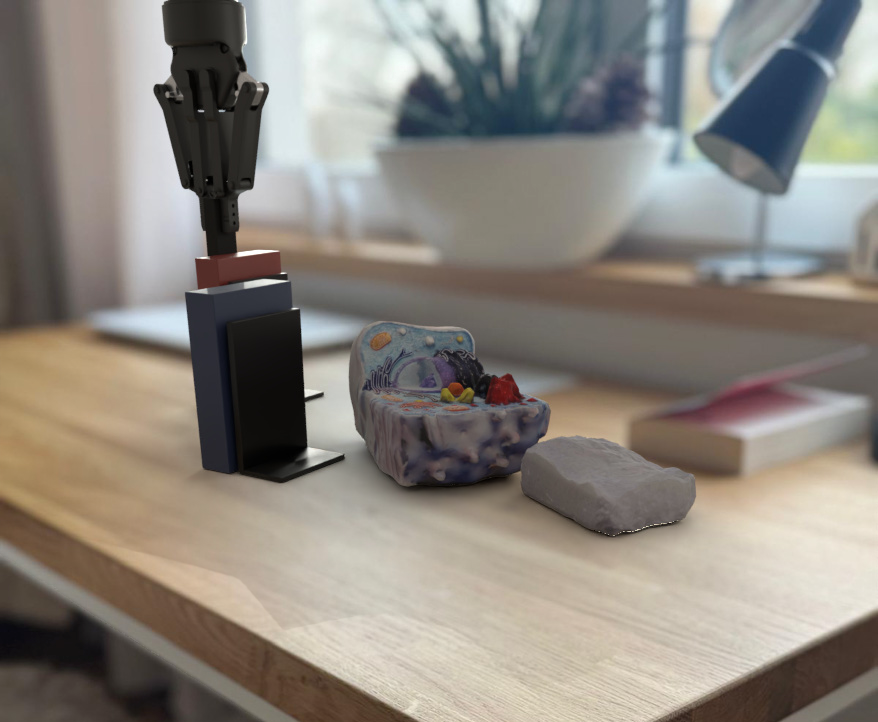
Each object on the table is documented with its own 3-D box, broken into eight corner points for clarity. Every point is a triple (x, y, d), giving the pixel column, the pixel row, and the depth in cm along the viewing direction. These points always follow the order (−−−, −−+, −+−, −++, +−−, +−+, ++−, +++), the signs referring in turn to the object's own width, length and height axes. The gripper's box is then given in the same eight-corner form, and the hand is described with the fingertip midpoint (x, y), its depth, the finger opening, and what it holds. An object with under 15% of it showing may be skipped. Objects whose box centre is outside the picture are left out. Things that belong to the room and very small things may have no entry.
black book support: (238, 473, 87) (225, 321, 82) (302, 450, 93) (294, 307, 88) (281, 483, 84) (271, 327, 79) (345, 458, 90) (339, 312, 86)
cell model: (449, 305, 96) (572, 348, 79) (448, 423, 100) (564, 488, 84) (311, 315, 90) (412, 364, 74) (315, 440, 95) (412, 512, 78)
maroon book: (194, 258, 104) (217, 259, 102) (258, 249, 111) (280, 250, 109) (208, 402, 109) (230, 405, 108) (268, 385, 116) (289, 388, 114)
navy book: (184, 291, 82) (212, 294, 81) (263, 278, 89) (291, 280, 88) (202, 468, 88) (229, 473, 86) (275, 443, 95) (302, 447, 93)
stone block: (610, 495, 86) (505, 489, 81) (625, 437, 85) (518, 427, 80) (707, 548, 77) (594, 545, 72) (725, 483, 75) (612, 475, 70)
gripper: (284, -2, 98) (297, 267, 108) (182, 6, 105) (203, 258, 114) (226, -9, 93) (246, 275, 102) (122, -1, 99) (149, 266, 108)
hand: (223, 266), depth 108 cm, fingers closed
